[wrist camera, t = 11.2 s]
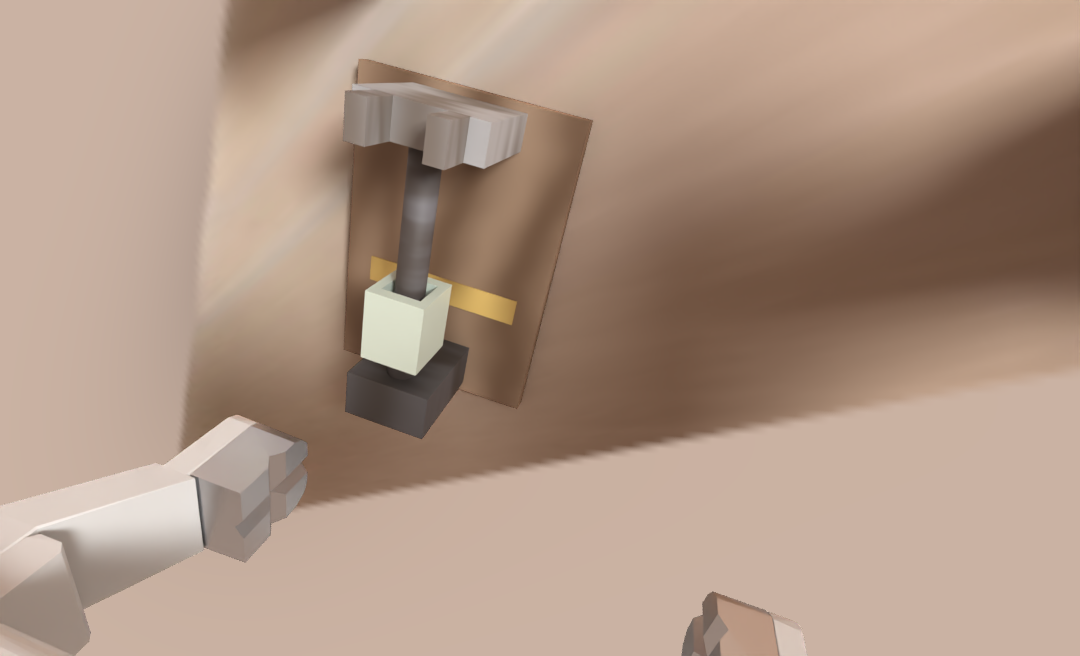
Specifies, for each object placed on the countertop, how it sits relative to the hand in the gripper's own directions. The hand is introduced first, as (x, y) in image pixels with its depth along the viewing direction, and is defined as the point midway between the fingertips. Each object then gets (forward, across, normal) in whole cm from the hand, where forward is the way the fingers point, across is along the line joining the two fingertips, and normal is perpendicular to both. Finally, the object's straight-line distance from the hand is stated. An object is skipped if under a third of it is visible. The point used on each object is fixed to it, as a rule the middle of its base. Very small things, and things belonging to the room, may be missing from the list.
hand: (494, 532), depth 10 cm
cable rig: (+29, +12, +7) cm, 32 cm away
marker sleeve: (+24, +12, +10) cm, 29 cm away
